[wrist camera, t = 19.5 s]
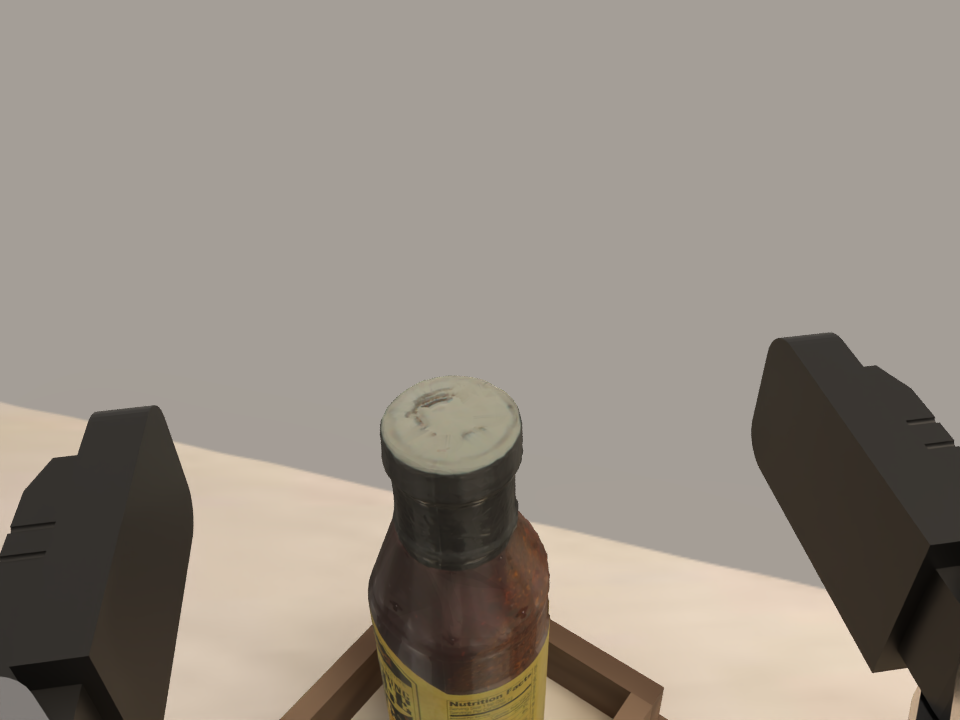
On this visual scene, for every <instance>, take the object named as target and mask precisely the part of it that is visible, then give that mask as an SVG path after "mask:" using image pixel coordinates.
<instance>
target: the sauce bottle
mask: <svg viewBox="0 0 960 720" xmlns="http://www.w3.org/2000/svg"><path fill="white" fill-rule="evenodd" d="M380 437H381V449H382V462H383V465H384V468H385V471H386V473H387V475H388V476H389V477H390V479H391V481H392V487H393V495H394V513H393V518H392V521H391V523H390V526H389V529H388V531H387V534H386V536H385V539H384V542H383V544H382V547H381V549H380V552H379V555H378V557H377V560H376V563H375V565H374V567H373V570H372V573H371V576H370V579H369V586H368V601H369V607H370V613H371V619H372V624H373V630H374V635H375V641H376V646H377V653H378V661H379V664H380V670H381V675H382V681H383V686H384V692H385V697H386V703H387V709H388V714H389V720H544V710H545V695H546V678H547V661H548V644H549V627H550V615H549V600H548V592H549V578H550V574H549V571H548V562H547V553H546V551H545V549H544V546H543V544H542V542H541V541H540V538H539V536H538V533H537V532H536V531H535V530H534V528H533V527H532V525H531V524H530V522H529V521H528V520H527V519H525V518H524V516H522V514H521V513H520V512H519V511H518V501H517V499H516V496H515V474H516V472H517V470H518V469H519V466H520V463H521V460H522V454H523V448H522V442H523V438H522V437H523V436H522V421H521V417H520V413H519V409H518V407H517V405H516V403H515V402H514V400H513V399H512V398H511V397H510V396H509V395H508V394H507V393H506V392H505V391H503V390H501V389H499V388H496V387H495V386H493V385H492V384H490V383H488V382H486V381H484V380H481V379H478V378H472V377H465V376H444V377H437V378H432V379H429V380H424V381H422V382H420V383H418V384H416V385H414V386H412V387H411V388H409V389H407V390H406V391H404V392H403V393H402V394H400V395H399V396H398V397H397V398H396V399H395V400H394V401H393V402H392V403H391V404H390V405H389V406H388V407H387V409H386V412H385V414H384V416H383V418H382V420H381V424H380Z"/></svg>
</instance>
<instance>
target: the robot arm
mask: <svg viewBox="0 0 960 720" xmlns="http://www.w3.org/2000/svg"><path fill="white" fill-rule="evenodd" d="M751 436H752V446H753V450H754V455H755V458H756V461H757V464H758V466H759V468H760V470H761V472H762V474H763V475H764V477H765V479H766V481H767V483H768V485H769V486H770V488H771V490H772V492H773V494H774V496H775V497H776V499H777V501H778V503H779V505H780V506H781V508H782V510H783V512H784V514H785V516H786V517H787V519H788V521H789V523H790V524H791V526H792V528H793V530H794V532H795V534H796V535H797V537H798V539H799V541H800V543H801V544H802V546H803V548H804V550H805V552H806V554H807V555H808V557H809V559H810V561H811V563H812V564H813V566H814V568H815V570H816V572H817V574H818V575H819V577H820V579H821V581H822V583H823V584H824V586H825V588H826V590H827V592H828V594H829V595H830V597H831V599H832V601H833V603H834V604H835V606H836V608H837V610H838V612H839V613H840V615H841V617H842V619H843V621H844V623H845V624H846V626H847V628H848V630H849V632H850V633H851V635H852V637H853V639H854V641H855V642H856V644H857V646H858V648H859V650H860V652H861V653H862V655H863V657H864V659H865V661H866V662H867V664H868V666H869V668H870V670H871V671H872V673H876V672H883V671H889V670H896V669H903V668H908V669H909V671H910V673H911V674H912V676H913V678H914V679H915V681H916V683H917V685H918V687H917V689H916V691H915V692H914V694H913V698H912V701H911V706H910V711H909V717H908V720H960V447H959V446H958V447H955V445H954V440H953V439H952V437H951V436H950V435H949V433H948V432H947V431H946V430H945V429H944V427H943V426H942V425H941V424H940V423H936V422H935V417H934V415H933V414H932V413H931V412H930V410H929V409H928V408H927V407H926V406H925V404H924V403H923V402H922V401H921V400H920V398H919V397H918V396H917V395H916V394H915V393H914V391H913V390H912V389H911V388H909V387H908V386H907V385H905V384H903V383H902V382H900V381H899V380H897V379H896V378H894V377H893V376H891V375H889V374H888V373H887V372H885V371H884V370H882V369H880V368H879V367H878V366H867V367H863V366H862V364H861V363H860V362H859V361H858V359H857V358H856V357H855V355H854V354H853V353H852V352H851V350H850V349H849V348H848V347H847V345H846V344H845V343H844V342H843V340H842V339H841V338H840V337H839V336H837V335H836V334H834V333H820V334H811V335H802V336H794V337H784V338H778V339H775V340H774V341H773V342H772V343H771V345H770V347H769V350H768V354H767V358H766V363H765V367H764V371H763V376H762V380H761V385H760V389H759V394H758V398H757V403H756V407H755V411H754V416H753V420H752V428H751ZM10 527H11V534H7V537H6V539H5V542H4V545H3V547H2V550H1V553H0V720H164V715H165V708H166V702H167V696H168V689H169V683H170V677H171V670H172V664H173V658H174V651H175V645H176V639H177V632H178V626H179V620H180V613H181V607H182V601H183V594H184V588H185V582H186V575H187V569H188V563H189V557H190V550H191V544H192V537H193V507H192V500H191V495H190V490H189V487H188V484H187V481H186V478H185V475H184V472H183V469H182V466H181V464H180V461H179V458H178V455H177V452H176V449H175V446H174V443H173V440H172V438H171V435H170V432H169V429H168V426H167V423H166V421H165V417H164V415H163V413H162V411H161V409H160V408H159V407H158V406H155V405H153V406H144V407H135V408H127V409H117V410H108V411H99V412H95V413H93V414H92V415H91V417H90V419H89V421H88V424H87V427H86V430H85V433H84V436H83V439H82V442H81V446H80V449H79V452H78V455H75V456H66V457H57V458H53V459H52V460H51V461H50V462H49V463H48V464H47V465H46V467H45V468H44V469H43V470H42V471H41V472H40V473H39V474H38V476H37V477H36V478H35V479H34V480H33V481H32V482H31V483H30V485H29V486H28V487H27V488H26V489H25V490H24V492H23V494H22V497H21V500H20V502H19V505H18V508H17V510H16V513H15V516H14V518H13V521H12V524H11V526H10Z"/></svg>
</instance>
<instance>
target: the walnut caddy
mask: <svg viewBox="0 0 960 720" xmlns="http://www.w3.org/2000/svg"><path fill="white" fill-rule="evenodd" d="M663 690H664V687H662V686H661V685H659V684H657V683H656V682H654V681H652V680H651V679H649V678H647V677H646V676H644V675H642V674H641V673H639V672H637V671H636V670H634V669H632V668H631V667H629V666H627V665H626V664H624V663H622V662H621V661H619V660H617V659H616V658H614V657H612V656H611V655H609V654H607V653H606V652H604V651H602V650H601V649H599V648H597V647H596V646H594V645H592V644H591V643H589V642H587V641H586V640H584V639H582V638H581V637H579V636H577V635H576V634H574V633H572V632H571V631H569V630H567V629H566V628H564V627H562V626H561V625H559V624H557V623H556V622H554V621H552V620H551V619H550V627H549V644H548V661H547V678H546V695H545V710H544V720H668V719H666V718H664V717H663V716H661V715H659V711H660V706H661V701H662V695H663ZM280 720H389V714H388V709H387V703H386V697H385V692H384V686H383V681H382V675H381V670H380V664H379V661H378V653H377V646H376V641H375V635H374V630H373V624H372V625H371V626H370V628H369V629H368V630H367V631H366V632H365V633H364V634H363V635H362V636H361V637H360V638H359V639H358V640H357V641H356V642H355V643H354V644H353V645H352V646H351V647H350V648H349V649H348V650H347V651H346V652H345V653H344V654H343V655H342V656H341V657H340V658H339V659H338V660H337V661H336V662H335V663H334V664H333V666H332V667H331V668H330V669H329V670H328V671H327V672H326V673H325V674H324V675H323V676H322V677H321V678H320V679H319V680H318V681H317V682H316V683H315V684H314V685H313V686H312V687H311V688H310V689H309V690H308V691H307V692H306V693H305V694H304V695H303V696H302V697H301V698H300V699H299V700H298V701H297V703H296V704H295V705H294V706H293V707H292V708H291V709H290V710H289V711H288V712H287V713H286V714H285V715H284V716H283V717H282V718H281V719H280Z"/></svg>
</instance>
